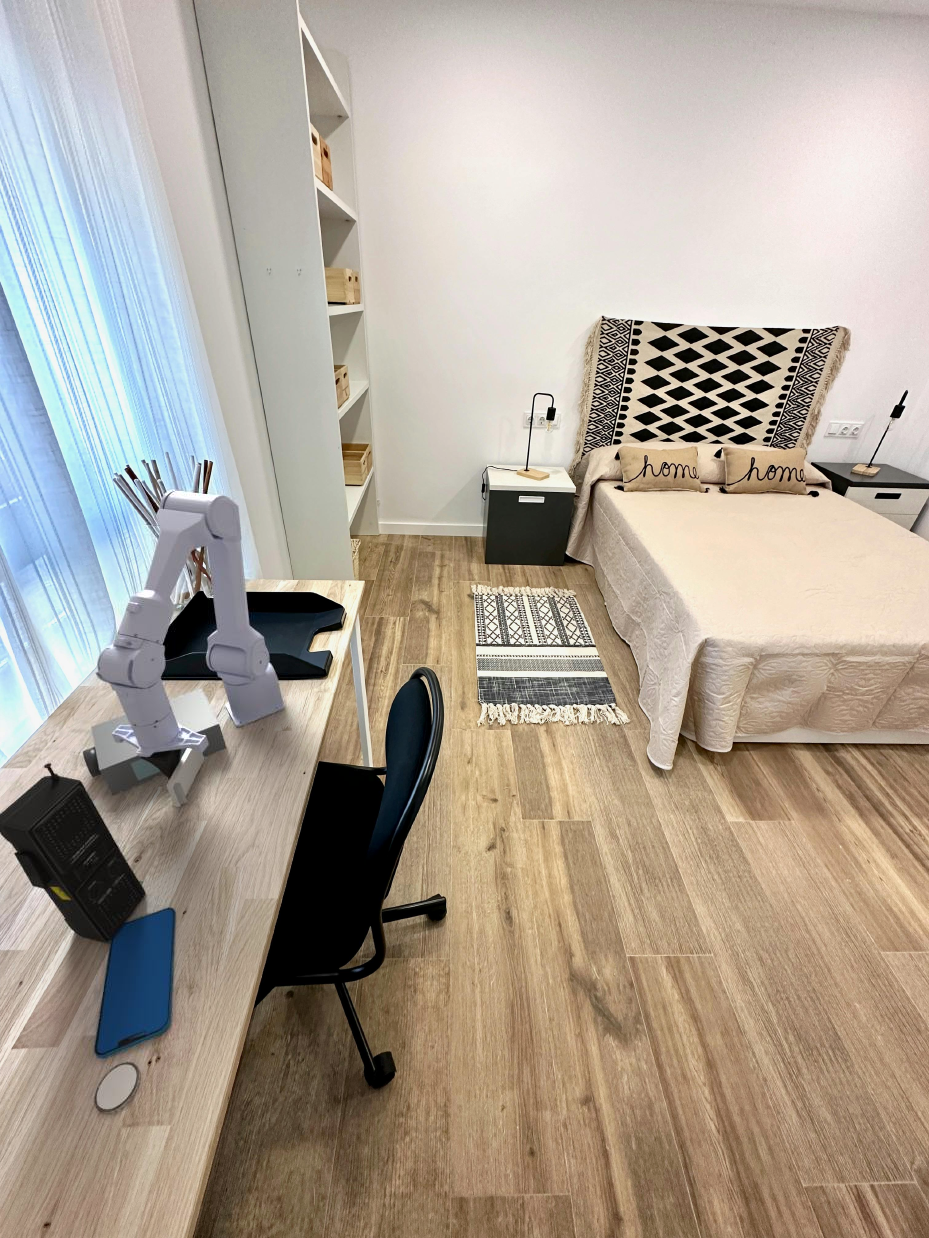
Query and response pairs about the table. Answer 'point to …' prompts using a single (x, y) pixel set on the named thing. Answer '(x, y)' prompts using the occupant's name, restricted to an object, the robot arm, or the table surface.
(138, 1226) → the table surface
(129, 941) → the smartphone
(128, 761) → the camera housing
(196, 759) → the side door
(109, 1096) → the white round disc
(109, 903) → the portable radio
